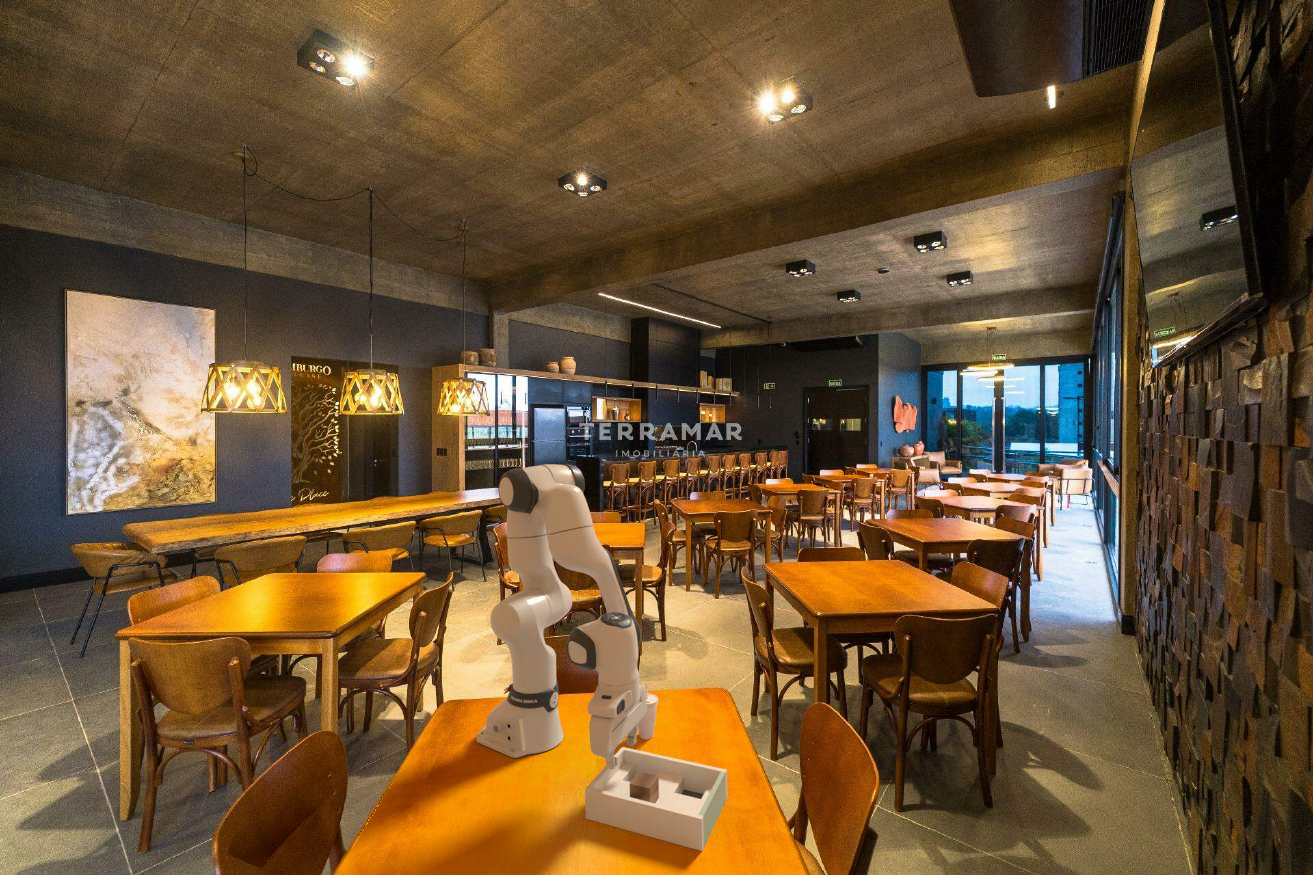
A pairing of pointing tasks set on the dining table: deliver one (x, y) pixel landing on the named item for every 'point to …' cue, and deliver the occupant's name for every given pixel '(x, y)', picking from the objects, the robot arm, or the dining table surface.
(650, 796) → the walnut block
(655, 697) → the smoothie
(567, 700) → the dining table surface
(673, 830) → the box
